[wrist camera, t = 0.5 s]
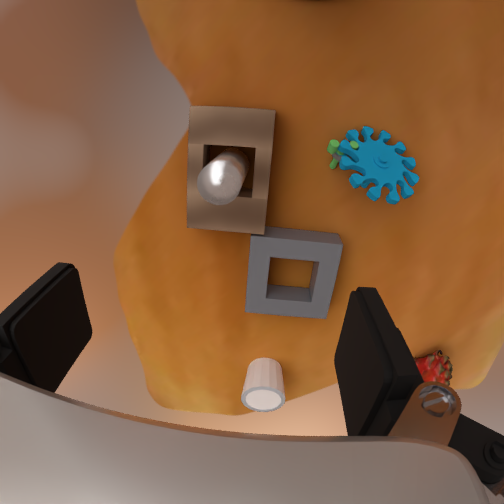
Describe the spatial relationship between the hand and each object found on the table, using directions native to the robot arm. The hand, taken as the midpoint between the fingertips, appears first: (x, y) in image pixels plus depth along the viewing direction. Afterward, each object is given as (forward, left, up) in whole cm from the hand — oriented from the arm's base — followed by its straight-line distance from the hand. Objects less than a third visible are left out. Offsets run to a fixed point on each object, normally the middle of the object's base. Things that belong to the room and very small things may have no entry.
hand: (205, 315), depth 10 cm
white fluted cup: (+34, +4, -30) cm, 45 cm away
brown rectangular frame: (+1, -3, -30) cm, 30 cm away
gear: (-2, +13, -30) cm, 33 cm away
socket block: (+14, +6, -30) cm, 33 cm away
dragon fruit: (+32, +33, -30) cm, 55 cm away
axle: (+1, -3, -30) cm, 30 cm away
